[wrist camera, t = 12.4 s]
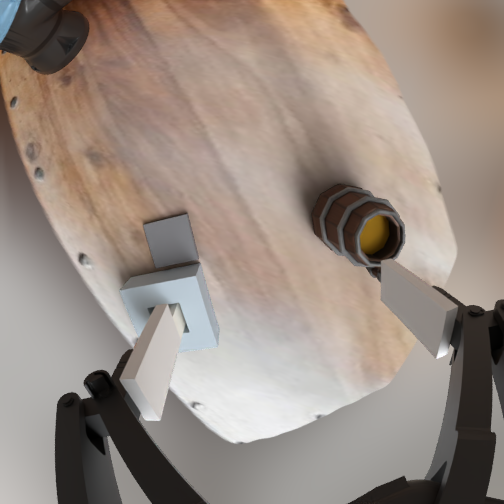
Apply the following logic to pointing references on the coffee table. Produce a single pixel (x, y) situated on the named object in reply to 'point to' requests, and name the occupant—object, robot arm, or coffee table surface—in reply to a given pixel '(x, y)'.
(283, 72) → the coffee table surface
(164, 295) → the socket block
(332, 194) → the mug
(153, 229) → the mat
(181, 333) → the peg
